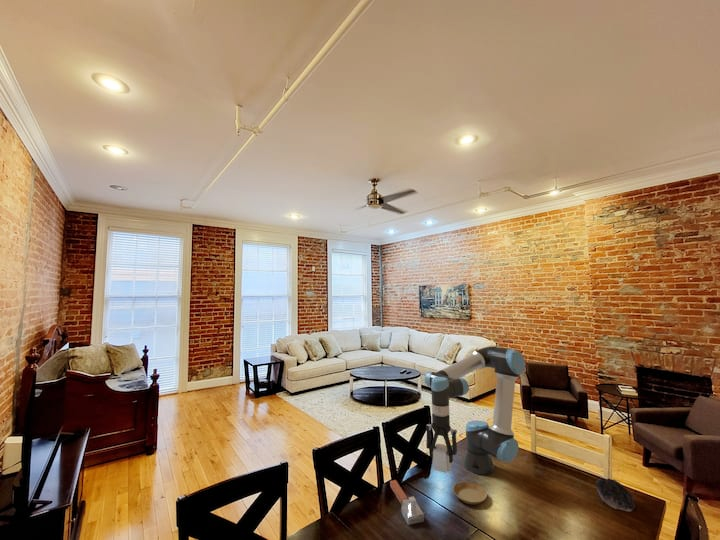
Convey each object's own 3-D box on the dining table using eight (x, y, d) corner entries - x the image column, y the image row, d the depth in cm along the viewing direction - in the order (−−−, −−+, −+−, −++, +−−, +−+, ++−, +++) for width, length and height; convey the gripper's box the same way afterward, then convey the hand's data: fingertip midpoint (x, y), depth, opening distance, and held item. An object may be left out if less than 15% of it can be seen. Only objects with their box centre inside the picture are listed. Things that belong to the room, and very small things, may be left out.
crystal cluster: (642, 507, 138) (639, 482, 140) (628, 516, 131) (626, 489, 133) (606, 493, 149) (603, 470, 151) (592, 500, 143) (590, 476, 144)
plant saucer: (470, 512, 135) (470, 506, 136) (446, 492, 148) (446, 487, 149) (494, 501, 142) (494, 495, 142) (469, 483, 155) (469, 478, 155)
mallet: (386, 486, 153) (386, 470, 154) (399, 484, 155) (399, 468, 155) (408, 524, 128) (407, 505, 129) (423, 521, 130) (423, 502, 130)
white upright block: (433, 469, 138) (433, 448, 139) (437, 463, 143) (437, 443, 144) (446, 473, 135) (446, 451, 136) (449, 466, 140) (449, 446, 141)
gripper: (417, 412, 142) (418, 465, 141) (460, 420, 133) (461, 477, 131) (423, 407, 149) (424, 458, 147) (463, 414, 139) (465, 469, 138)
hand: (441, 467), depth 139 cm, fingers closed on white upright block, 6 cm apart
